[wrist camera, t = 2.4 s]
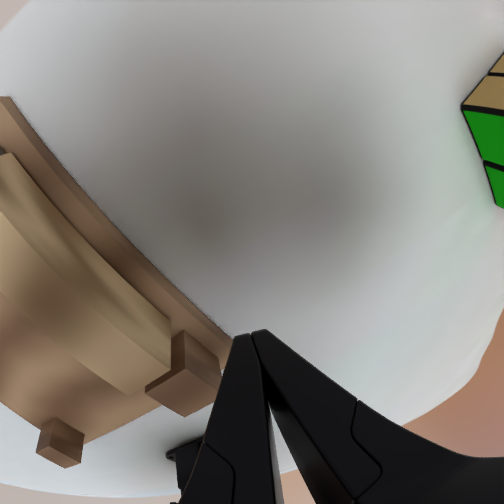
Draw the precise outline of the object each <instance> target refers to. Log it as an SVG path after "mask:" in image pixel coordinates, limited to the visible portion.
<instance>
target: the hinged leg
mask: <svg viewBox="0 0 504 504" xmlns="http://www.w3.org/2000/svg"><path fill="white" fill-rule="evenodd" d="M0 291H1V292H2V293H3V294H4V296H5V297H6V298H7V299H8V300H9V301H10V302H11V303H12V304H13V305H14V306H15V307H16V308H17V309H18V310H19V311H21V312H22V313H23V314H24V315H25V316H26V317H27V318H28V319H29V320H30V321H31V322H32V323H33V324H34V325H36V326H37V327H38V328H39V329H40V330H41V331H42V332H43V333H45V334H46V335H47V336H48V337H49V338H50V339H52V340H53V341H54V342H55V343H56V344H58V345H59V346H60V347H61V348H62V349H64V350H65V351H66V352H67V353H69V354H70V355H71V356H72V357H74V358H75V359H76V360H78V361H79V362H80V363H82V364H83V365H84V366H86V367H87V368H88V369H90V370H91V371H92V372H94V373H95V374H97V375H98V376H99V377H101V378H102V379H104V380H105V381H107V382H108V383H110V384H111V385H113V386H114V387H116V388H117V389H119V390H120V391H122V392H123V393H125V394H126V395H128V396H129V395H131V394H133V393H134V392H136V391H138V390H139V389H141V388H142V387H144V386H146V385H147V384H149V383H151V382H152V381H154V380H155V379H157V378H159V377H160V376H162V375H163V374H165V373H167V372H168V371H170V370H171V321H169V320H168V319H167V318H166V317H165V316H164V315H163V314H161V313H160V312H159V311H158V310H157V309H156V308H155V307H154V306H152V305H151V304H150V303H149V302H148V301H147V300H146V299H145V298H144V297H143V296H141V295H140V294H139V293H138V292H137V291H136V290H135V289H134V288H133V287H132V286H131V285H130V284H129V283H128V282H126V281H125V280H124V279H123V278H122V277H121V276H120V275H119V274H118V273H117V272H116V271H115V270H114V269H113V268H112V267H111V266H110V265H109V264H108V263H107V262H106V261H105V260H104V259H103V258H102V257H101V256H100V255H99V254H98V253H97V252H96V251H95V250H94V249H93V248H92V247H91V246H90V245H89V244H88V243H87V242H86V240H85V239H84V238H83V237H82V236H81V235H80V234H79V233H78V232H77V231H76V230H75V229H74V228H73V227H72V225H71V224H70V223H69V222H68V221H67V220H66V219H65V218H64V217H63V215H62V214H61V213H60V212H59V211H58V210H57V209H56V207H55V206H54V205H53V204H52V203H51V202H50V201H49V199H48V198H47V197H46V196H45V195H44V193H43V192H42V191H41V190H40V189H39V187H38V186H37V185H36V184H35V183H34V181H33V180H32V179H31V178H30V176H29V175H28V174H27V173H26V171H25V170H24V169H23V167H22V166H21V165H20V164H19V162H18V161H17V160H16V158H15V157H14V156H13V154H12V153H11V152H10V153H7V154H5V153H4V151H3V150H2V149H1V148H0Z"/></svg>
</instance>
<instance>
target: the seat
mask: <svg viewBox="0 0 504 504" xmlns="http://www.w3.org/2000/svg"><path fill="white" fill-rule="evenodd" d="M0 148H1V149H2V150H3V151H4V153H5V154H7V153H10V152H11V153H12V154H13V156H14V157H15V158H16V160H17V161H18V162H19V164H20V165H21V166H22V167H23V169H24V170H25V171H26V173H27V174H28V175H29V176H30V178H31V179H32V180H33V181H34V183H35V184H36V185H37V186H38V187H39V189H40V190H41V191H42V192H43V193H44V195H45V196H46V197H47V198H48V199H49V201H50V202H51V203H52V204H53V205H54V206H55V207H56V209H57V210H58V211H59V212H60V213H61V214H62V215H63V217H64V218H65V219H66V220H67V221H68V222H69V223H70V224H71V225H72V227H73V228H74V229H75V230H76V231H77V232H78V233H79V234H80V235H81V236H82V237H83V238H84V239H85V240H86V242H87V243H88V244H89V245H90V246H91V247H92V248H93V249H94V250H95V251H96V252H97V253H98V254H99V255H100V256H101V257H102V258H103V259H104V260H105V261H106V262H107V263H108V264H109V265H110V266H111V267H112V268H113V269H114V270H115V271H116V272H117V273H118V274H119V275H120V276H121V277H122V278H123V279H124V280H125V281H126V282H128V283H129V284H130V285H131V286H132V287H133V288H134V289H135V290H136V291H137V292H138V293H139V294H140V295H141V296H143V297H144V298H145V299H146V300H147V301H148V302H149V303H150V304H151V305H152V306H154V307H155V308H156V309H157V310H158V311H159V312H160V313H161V314H163V315H164V316H165V317H166V318H167V319H168V320H169V321H171V370H170V371H168V372H167V373H165V374H163V375H162V376H160V377H159V378H157V379H155V380H154V381H152V382H151V383H149V384H147V385H146V386H144V387H142V388H141V389H139V390H138V391H136V392H134V393H133V394H131V395H129V396H128V395H126V394H125V393H123V392H122V391H120V390H119V389H117V388H116V387H114V386H113V385H111V384H110V383H108V382H107V381H105V380H104V379H102V378H101V377H99V376H98V375H97V374H95V373H94V372H92V371H91V370H90V369H88V368H87V367H86V366H84V365H83V364H82V363H80V362H79V361H78V360H76V359H75V358H74V357H72V356H71V355H70V354H69V353H67V352H66V351H65V350H64V349H62V348H61V347H60V346H59V345H58V344H56V343H55V342H54V341H53V340H52V339H50V338H49V337H48V336H47V335H46V334H45V333H43V332H42V331H41V330H40V329H39V328H38V327H37V326H36V325H34V324H33V323H32V322H31V321H30V320H29V319H28V318H27V317H26V316H25V315H24V314H23V313H22V312H21V311H19V310H18V309H17V308H16V307H15V306H14V305H13V304H12V303H11V302H10V301H9V300H8V299H7V298H6V297H5V296H4V294H3V293H2V292H1V291H0V402H1V403H3V404H4V405H5V406H7V407H8V408H9V409H11V410H12V411H13V412H15V413H16V414H18V415H19V416H20V417H22V418H23V419H25V420H26V421H28V422H29V423H31V424H32V425H34V426H35V427H37V428H38V429H40V430H41V432H40V436H39V440H38V444H37V449H36V453H37V454H39V455H41V456H42V457H44V458H46V459H48V460H50V461H51V462H53V463H55V464H57V465H59V466H61V467H63V468H68V467H71V466H74V465H77V464H79V463H81V457H82V450H83V444H86V443H88V442H90V441H92V440H94V439H96V438H98V437H101V436H103V435H105V434H107V433H109V432H111V431H113V430H115V429H117V428H119V427H121V426H123V425H125V424H127V423H129V422H131V421H133V420H135V419H137V418H138V417H140V416H142V415H144V414H146V413H148V412H150V411H152V410H153V409H155V408H157V407H159V406H161V405H164V406H166V407H167V408H169V409H171V410H172V411H174V412H176V413H178V414H180V415H181V416H183V417H186V416H188V415H190V414H192V413H194V412H196V411H198V410H200V409H201V408H203V407H205V406H207V405H209V404H211V403H213V402H214V401H215V399H216V395H217V392H218V389H219V385H220V382H221V379H222V376H221V370H222V369H224V368H225V366H226V362H227V359H228V356H229V352H230V349H231V346H232V342H233V340H232V339H231V338H230V337H229V336H228V335H227V334H225V333H224V332H223V331H222V330H221V329H220V328H219V327H218V326H216V325H215V324H214V323H213V322H212V321H211V320H210V319H209V318H208V317H206V316H205V315H204V314H203V313H202V312H201V311H200V310H199V309H198V308H197V307H196V306H195V305H193V304H192V303H191V302H190V301H189V300H188V299H187V298H186V297H185V296H184V295H183V294H182V293H181V292H180V291H179V290H178V289H177V288H176V287H175V286H173V285H172V284H171V283H170V282H169V281H168V280H167V279H166V278H165V277H164V276H163V275H162V274H161V273H160V272H159V271H158V270H157V269H156V268H155V267H154V266H153V265H152V264H151V263H150V262H149V261H148V260H147V259H146V258H145V257H144V256H143V255H142V254H141V253H140V252H139V251H138V250H137V249H136V248H135V246H134V245H133V244H132V243H131V242H130V241H129V240H128V239H127V238H126V237H125V236H124V235H123V234H122V233H121V232H120V231H119V230H118V229H117V228H116V226H115V225H114V224H113V223H112V222H111V221H110V220H109V219H108V218H107V217H106V216H105V215H104V213H103V212H102V211H101V210H100V209H99V208H98V207H97V206H96V205H95V203H94V202H93V201H92V200H91V199H90V198H89V197H88V195H87V194H86V193H85V192H84V191H83V190H82V189H81V187H80V186H79V185H78V184H77V183H76V182H75V180H74V179H73V178H72V177H71V176H70V175H69V173H68V172H67V171H66V170H65V169H64V167H63V166H62V165H61V164H60V163H59V161H58V160H57V159H56V158H55V156H54V155H53V154H52V153H51V151H50V150H49V149H48V148H47V146H46V145H45V144H44V143H43V141H42V140H41V139H40V138H39V136H38V135H37V134H36V132H35V131H34V130H33V128H32V127H31V126H30V124H29V123H28V122H27V120H26V119H25V118H24V116H23V115H22V114H21V112H20V111H19V110H18V108H17V107H16V105H15V104H14V103H13V101H12V100H11V98H10V97H1V96H0Z"/></svg>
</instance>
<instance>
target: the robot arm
mask: <svg viewBox="0 0 504 504" xmlns="http://www.w3.org/2000/svg"><path fill="white" fill-rule="evenodd" d="M269 406H270V408H269ZM270 409H271V411H272V414H273V416H274V418H275V421H276V423H277V425H278V427H279V429H280V431H281V434H282V436H283V438H284V440H285V442H286V444H287V446H288V448H289V450H290V452H291V455H292V457H293V459H294V461H295V463H296V465H297V467H298V469H299V471H300V473H301V475H302V477H303V479H304V481H305V483H306V485H307V487H308V489H309V491H310V493H311V495H312V497H313V498H314V501H315V503H316V504H504V457H485V458H484V457H472V456H467V455H462V454H459V453H456V452H454V451H451V450H449V449H447V448H444V447H442V446H440V445H438V444H436V443H433V442H431V441H429V440H427V439H425V438H423V437H421V436H419V435H417V434H415V433H413V432H411V431H409V430H407V429H405V428H403V427H401V426H399V425H398V424H396V423H394V422H392V421H390V420H388V419H387V418H385V417H384V416H382V415H381V414H379V413H378V412H376V411H375V410H373V409H372V408H370V407H369V406H367V405H366V404H365V403H363V402H362V401H361V400H358V401H357V398H356V397H355V396H353V395H352V394H351V393H349V392H348V391H346V390H345V389H344V388H342V387H341V386H340V385H338V384H337V383H336V382H334V381H333V380H332V379H330V378H329V377H328V376H326V375H325V374H324V373H322V372H321V371H320V370H318V369H317V368H316V367H314V366H313V365H312V364H310V363H309V362H308V361H306V360H305V359H304V358H303V357H301V356H300V355H299V354H297V353H296V352H295V351H294V350H292V349H291V348H290V347H288V346H287V345H286V344H285V343H283V342H282V341H281V340H280V339H278V338H277V337H276V336H274V335H273V334H272V333H271V332H269V331H268V330H267V329H262V330H258V331H254V332H252V333H251V335H250V334H249V333H246V334H242V335H238V336H235V337H234V339H233V342H232V346H231V349H230V352H229V356H228V359H227V362H226V366H225V369H224V372H223V375H222V379H221V382H220V385H219V389H218V392H217V395H216V399H215V402H214V405H213V408H212V412H211V415H210V418H209V421H208V425H207V428H206V431H205V434H204V437H202V438H200V439H197V440H195V441H193V442H191V443H188V444H186V445H184V446H182V447H179V448H177V449H175V450H172V451H170V452H167V453H166V458H167V459H169V460H172V461H174V462H176V469H177V481H178V488H179V489H181V498H180V500H179V503H176V502H170V504H284V499H283V492H282V486H281V479H280V472H279V466H278V459H277V452H276V446H275V439H274V432H273V425H272V419H271V413H270Z"/></svg>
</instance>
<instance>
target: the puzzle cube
mask: <svg viewBox="0 0 504 504" xmlns="http://www.w3.org/2000/svg"><path fill="white" fill-rule="evenodd" d="M462 110H463V112H464V114H465V116H466V119H467V121H468V123H469V126H470V128H471V130H472V133H473V135H474V138H475V140H476V143H477V145H478V148H479V151H480V153H481V156H482V159H483V160H485V161H484V164H485V167H486V170H487V174H488V177H489V180H490V183H491V186H492V190H493V193H494V197H495V201H496V204H497V206H499V207H501V208H503V209H504V54H503V56H502V57H501V58H500V59H499V61H498V62H497V63H496V65H495V66H494V67H493V68H492V70H491V71H490V72H489V75H488V76H486V77H485V78H484V79H483V81H482V82H481V83H480V84H479V85H478V87H477V88H476V89H475V90H474V91H473V93H472V94H471V95H470V96H469V97H468V99H467V100H466V101H465V102H464V103H463V105H462Z"/></svg>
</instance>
